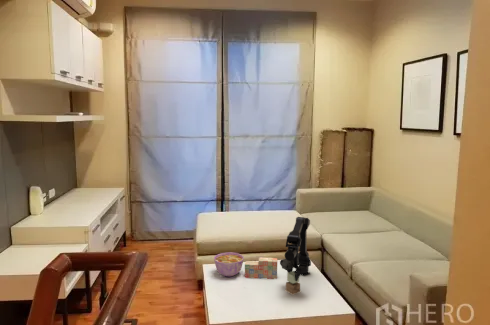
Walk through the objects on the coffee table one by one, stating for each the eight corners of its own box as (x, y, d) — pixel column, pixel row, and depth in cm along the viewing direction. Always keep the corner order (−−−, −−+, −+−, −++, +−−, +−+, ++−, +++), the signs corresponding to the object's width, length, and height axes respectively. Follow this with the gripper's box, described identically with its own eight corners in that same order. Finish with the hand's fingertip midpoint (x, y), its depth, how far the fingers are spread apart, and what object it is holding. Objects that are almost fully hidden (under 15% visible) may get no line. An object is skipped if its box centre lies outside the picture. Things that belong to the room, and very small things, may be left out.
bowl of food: (246, 279, 248) (246, 262, 247) (215, 281, 245) (215, 264, 243) (241, 267, 268) (241, 251, 266) (212, 269, 264) (212, 253, 263)
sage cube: (293, 278, 233) (293, 270, 233) (299, 281, 229) (299, 273, 229) (287, 280, 231) (287, 272, 230) (292, 283, 226) (292, 275, 226)
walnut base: (293, 287, 235) (293, 280, 234) (300, 291, 230) (300, 283, 229) (286, 290, 231) (286, 282, 231) (292, 294, 227) (292, 286, 226)
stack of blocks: (244, 277, 251) (244, 260, 249) (245, 274, 257) (245, 256, 255) (277, 279, 248) (277, 261, 247) (277, 275, 254) (277, 257, 253)
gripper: (273, 252, 231) (273, 277, 233) (294, 262, 216) (293, 288, 218) (287, 249, 237) (286, 273, 239) (308, 258, 222) (307, 283, 224)
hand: (293, 279), depth 230 cm, fingers closed on sage cube, 5 cm apart
